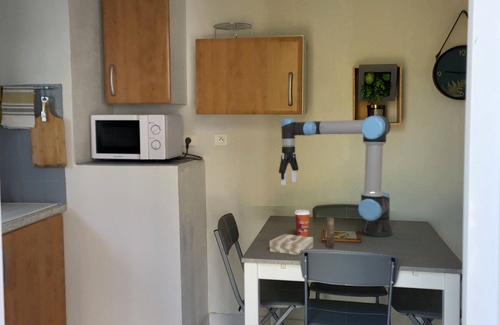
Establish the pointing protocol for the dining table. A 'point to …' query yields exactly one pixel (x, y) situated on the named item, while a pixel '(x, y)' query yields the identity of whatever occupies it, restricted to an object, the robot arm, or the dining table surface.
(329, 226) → the walnut peg
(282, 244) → the maple block
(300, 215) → the coffee cup
